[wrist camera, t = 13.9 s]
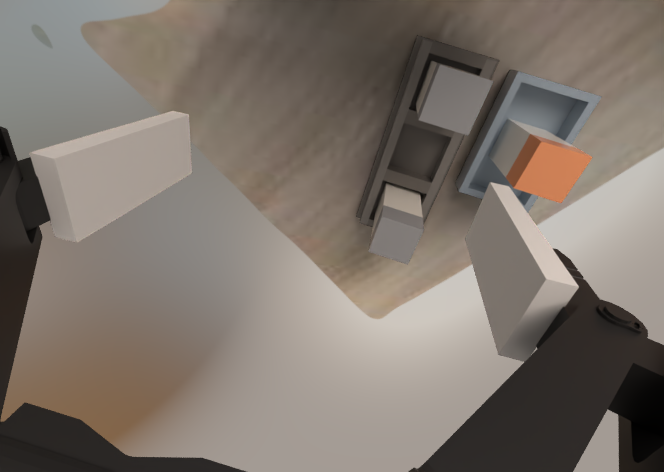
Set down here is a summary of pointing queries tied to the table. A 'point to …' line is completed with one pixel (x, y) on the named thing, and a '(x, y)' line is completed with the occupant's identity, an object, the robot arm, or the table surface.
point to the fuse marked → (537, 160)
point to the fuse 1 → (397, 223)
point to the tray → (529, 108)
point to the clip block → (419, 131)
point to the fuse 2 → (451, 97)
